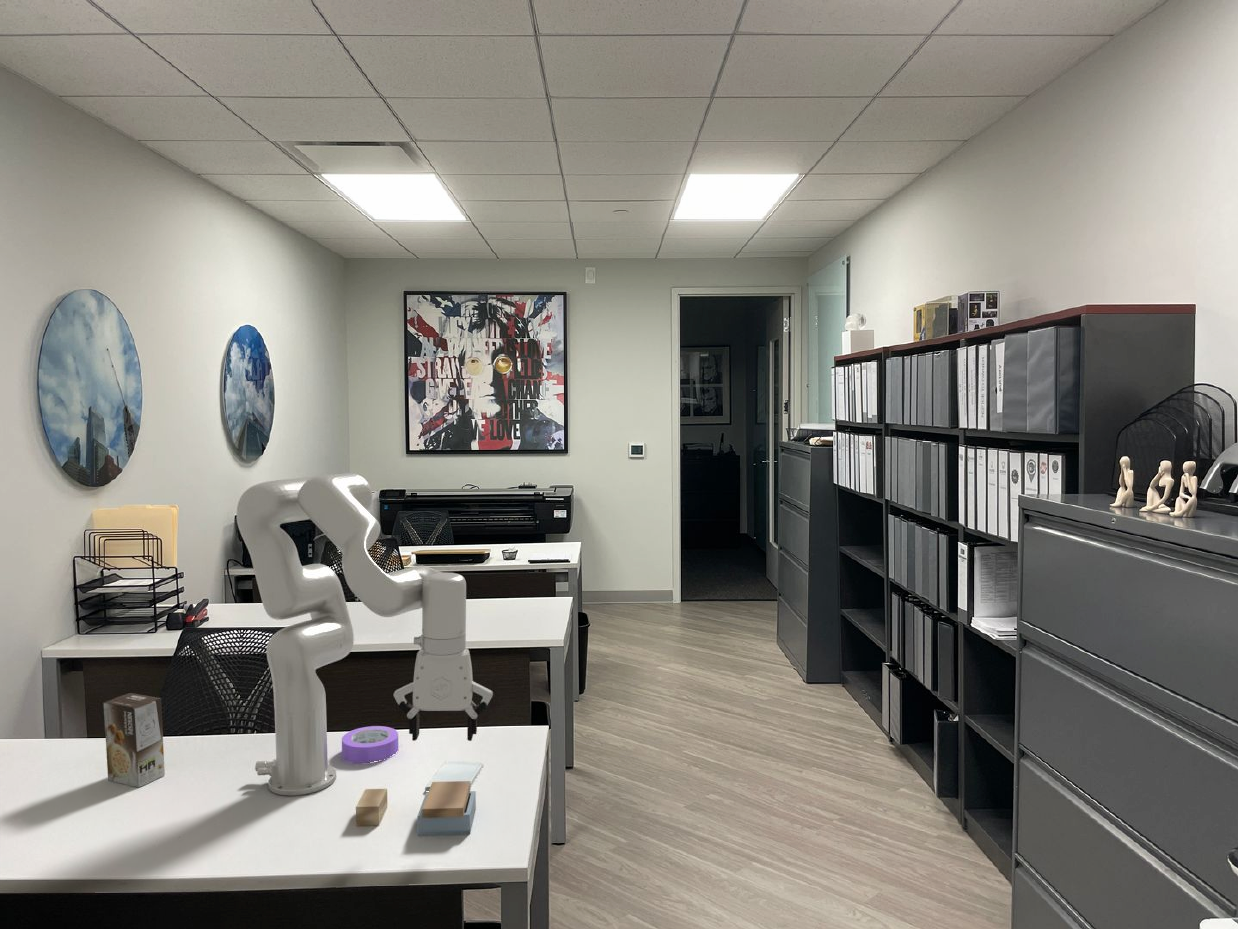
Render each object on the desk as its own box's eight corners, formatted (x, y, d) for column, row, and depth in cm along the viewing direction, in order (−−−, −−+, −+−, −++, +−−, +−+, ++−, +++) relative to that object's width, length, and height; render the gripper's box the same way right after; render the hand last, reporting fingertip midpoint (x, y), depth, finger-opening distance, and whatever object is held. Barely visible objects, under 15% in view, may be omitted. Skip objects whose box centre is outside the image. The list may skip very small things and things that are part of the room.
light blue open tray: (417, 835, 149) (417, 816, 149) (426, 811, 158) (426, 792, 158) (470, 834, 150) (469, 814, 150) (475, 809, 159) (475, 791, 159)
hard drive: (466, 789, 165) (483, 761, 177) (424, 786, 166) (444, 759, 178) (466, 797, 165) (483, 769, 177) (425, 795, 166) (444, 767, 178)
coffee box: (166, 775, 174) (163, 697, 173) (138, 788, 168) (134, 708, 167) (134, 768, 177) (130, 691, 176) (105, 780, 171) (101, 702, 170)
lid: (422, 818, 148) (422, 809, 148) (432, 790, 159) (432, 782, 159) (463, 817, 149) (463, 808, 149) (470, 789, 159) (470, 781, 159)
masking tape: (407, 744, 190) (407, 727, 189) (384, 766, 178) (383, 748, 178) (357, 741, 192) (357, 724, 191) (331, 762, 180) (331, 745, 180)
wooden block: (356, 826, 153) (355, 807, 152) (365, 807, 160) (365, 789, 159) (379, 825, 153) (378, 806, 153) (387, 807, 160) (387, 788, 160)
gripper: (389, 649, 147) (389, 746, 149) (491, 650, 148) (490, 746, 150) (398, 637, 155) (398, 729, 156) (495, 638, 156) (494, 729, 157)
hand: (443, 737), depth 153 cm, fingers open, 9 cm apart
